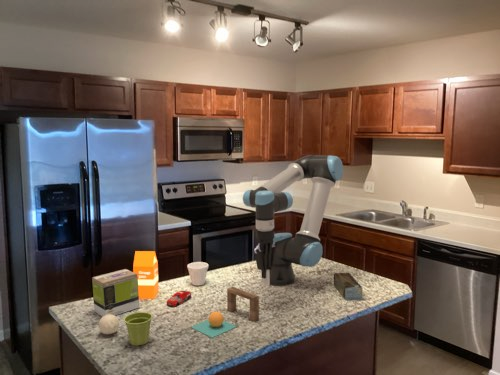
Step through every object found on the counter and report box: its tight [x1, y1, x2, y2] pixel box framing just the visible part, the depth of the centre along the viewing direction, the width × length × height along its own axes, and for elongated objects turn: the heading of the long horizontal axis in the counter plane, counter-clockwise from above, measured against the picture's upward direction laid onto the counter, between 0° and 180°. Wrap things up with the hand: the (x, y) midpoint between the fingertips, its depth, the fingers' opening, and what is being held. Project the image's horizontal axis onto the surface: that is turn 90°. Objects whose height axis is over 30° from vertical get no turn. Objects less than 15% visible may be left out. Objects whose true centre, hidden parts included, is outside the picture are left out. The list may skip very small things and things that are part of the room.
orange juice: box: [132, 250, 160, 300], centre depth 185 cm, size 8×9×20 cm
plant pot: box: [123, 311, 153, 347], centre depth 144 cm, size 9×9×9 cm
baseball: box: [98, 314, 120, 335], centre depth 150 cm, size 7×7×7 cm
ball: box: [208, 311, 225, 327], centre depth 156 cm, size 6×6×6 cm
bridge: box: [226, 286, 260, 322], centre depth 166 cm, size 3×14×9 cm, turn 46°
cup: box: [186, 261, 209, 287], centre depth 200 cm, size 10×10×9 cm
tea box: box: [91, 268, 140, 318], centre depth 170 cm, size 15×10×15 cm, turn 134°
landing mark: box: [190, 319, 238, 339], centre depth 155 cm, size 12×12×1 cm
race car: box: [166, 290, 192, 307], centre depth 180 cm, size 13×5×4 cm, turn 151°
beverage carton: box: [333, 272, 363, 301], centre depth 189 cm, size 8×19×7 cm, turn 4°
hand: (266, 284), depth 175 cm, fingers closed
